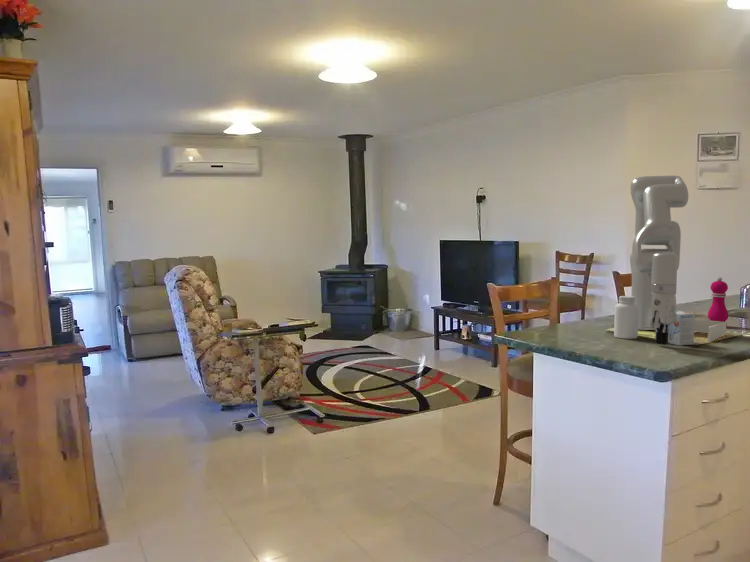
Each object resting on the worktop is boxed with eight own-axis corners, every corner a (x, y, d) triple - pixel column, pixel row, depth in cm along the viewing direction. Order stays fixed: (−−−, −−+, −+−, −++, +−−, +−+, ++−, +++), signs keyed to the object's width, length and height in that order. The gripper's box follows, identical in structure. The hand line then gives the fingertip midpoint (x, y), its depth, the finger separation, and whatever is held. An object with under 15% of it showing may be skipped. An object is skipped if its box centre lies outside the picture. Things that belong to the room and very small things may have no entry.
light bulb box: (654, 340, 205) (655, 310, 204) (668, 339, 207) (669, 309, 206) (679, 345, 195) (681, 314, 194) (694, 344, 197) (695, 313, 196)
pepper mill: (703, 325, 234) (705, 276, 232) (714, 324, 237) (716, 276, 235) (720, 328, 227) (722, 278, 226) (732, 327, 230) (734, 277, 229)
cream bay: (709, 341, 201) (710, 327, 201) (660, 335, 213) (660, 322, 213) (725, 335, 212) (726, 322, 212) (678, 330, 225) (678, 317, 224)
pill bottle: (635, 335, 213) (636, 295, 212) (639, 339, 206) (640, 298, 204) (612, 335, 216) (613, 295, 214) (615, 338, 208) (616, 297, 207)
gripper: (666, 292, 184) (664, 348, 186) (684, 288, 194) (682, 342, 196) (642, 290, 190) (640, 345, 191) (661, 287, 200) (659, 339, 201)
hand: (661, 343), depth 194 cm, fingers closed
